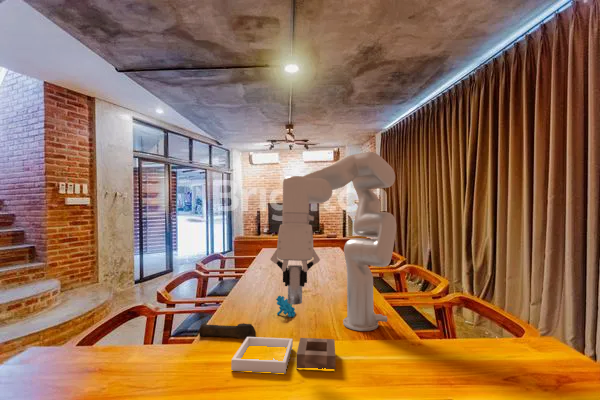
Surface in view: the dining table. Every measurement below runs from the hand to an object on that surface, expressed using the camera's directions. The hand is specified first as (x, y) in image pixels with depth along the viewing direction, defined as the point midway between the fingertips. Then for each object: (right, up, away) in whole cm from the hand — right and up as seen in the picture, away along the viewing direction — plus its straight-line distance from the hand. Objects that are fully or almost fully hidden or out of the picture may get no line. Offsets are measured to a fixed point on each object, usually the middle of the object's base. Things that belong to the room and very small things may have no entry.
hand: (294, 284), depth 78 cm
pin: (0, -5, 0) cm, 5 cm away
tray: (-8, -21, 0) cm, 22 cm away
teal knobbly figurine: (-4, -23, +35) cm, 42 cm away
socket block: (+6, -21, -1) cm, 22 cm away
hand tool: (-22, -22, +15) cm, 35 cm away
